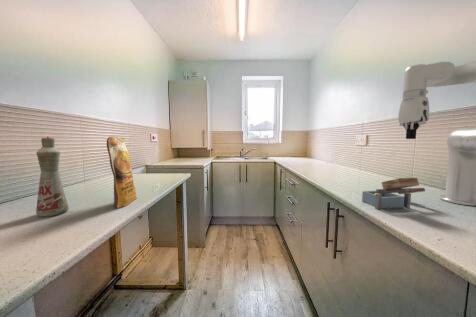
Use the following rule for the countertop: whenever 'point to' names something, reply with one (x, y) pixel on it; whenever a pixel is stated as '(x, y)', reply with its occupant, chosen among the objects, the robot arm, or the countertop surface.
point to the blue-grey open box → (384, 199)
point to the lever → (400, 186)
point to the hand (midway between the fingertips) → (410, 138)
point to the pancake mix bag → (121, 172)
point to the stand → (379, 199)
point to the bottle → (50, 181)
